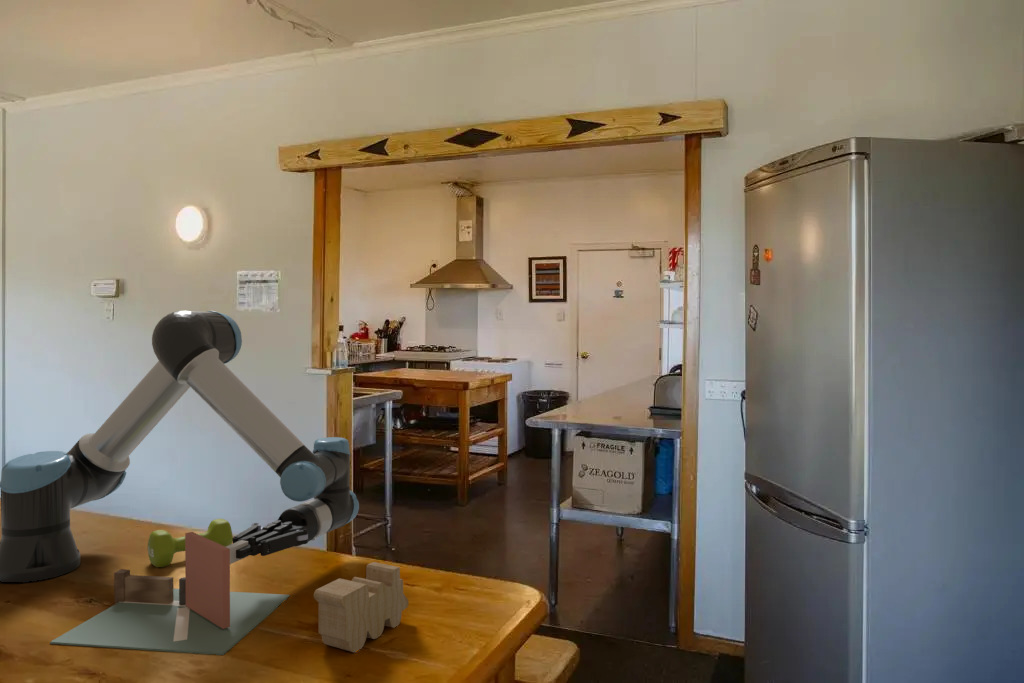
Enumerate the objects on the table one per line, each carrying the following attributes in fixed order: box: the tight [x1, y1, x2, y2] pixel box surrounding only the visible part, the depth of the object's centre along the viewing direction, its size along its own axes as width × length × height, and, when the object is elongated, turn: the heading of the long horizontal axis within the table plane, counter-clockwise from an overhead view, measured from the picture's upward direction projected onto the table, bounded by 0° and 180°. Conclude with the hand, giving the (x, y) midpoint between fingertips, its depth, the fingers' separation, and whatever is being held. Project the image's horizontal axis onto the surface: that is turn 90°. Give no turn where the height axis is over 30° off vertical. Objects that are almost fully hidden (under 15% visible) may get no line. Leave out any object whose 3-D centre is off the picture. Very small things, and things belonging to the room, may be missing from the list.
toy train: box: [313, 561, 409, 653], centre depth 114 cm, size 6×17×10 cm, turn 152°
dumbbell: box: [147, 518, 234, 568], centre depth 152 cm, size 16×8×7 cm, turn 134°
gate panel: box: [184, 531, 231, 629], centre depth 120 cm, size 14×1×13 cm, turn 48°
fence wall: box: [113, 569, 186, 605], centre depth 127 cm, size 14×2×6 cm, turn 83°
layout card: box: [49, 587, 291, 656], centre depth 121 cm, size 29×24×1 cm
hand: (218, 559), depth 120 cm, fingers closed
